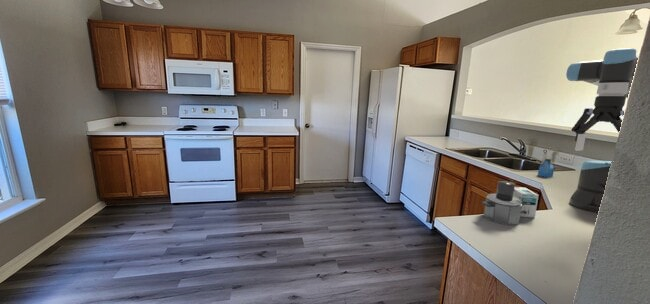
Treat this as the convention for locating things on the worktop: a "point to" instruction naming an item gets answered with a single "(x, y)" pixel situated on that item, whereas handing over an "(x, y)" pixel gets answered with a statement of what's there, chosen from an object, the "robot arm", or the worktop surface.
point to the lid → (504, 195)
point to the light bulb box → (526, 201)
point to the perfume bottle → (546, 169)
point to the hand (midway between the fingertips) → (598, 154)
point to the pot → (502, 213)
